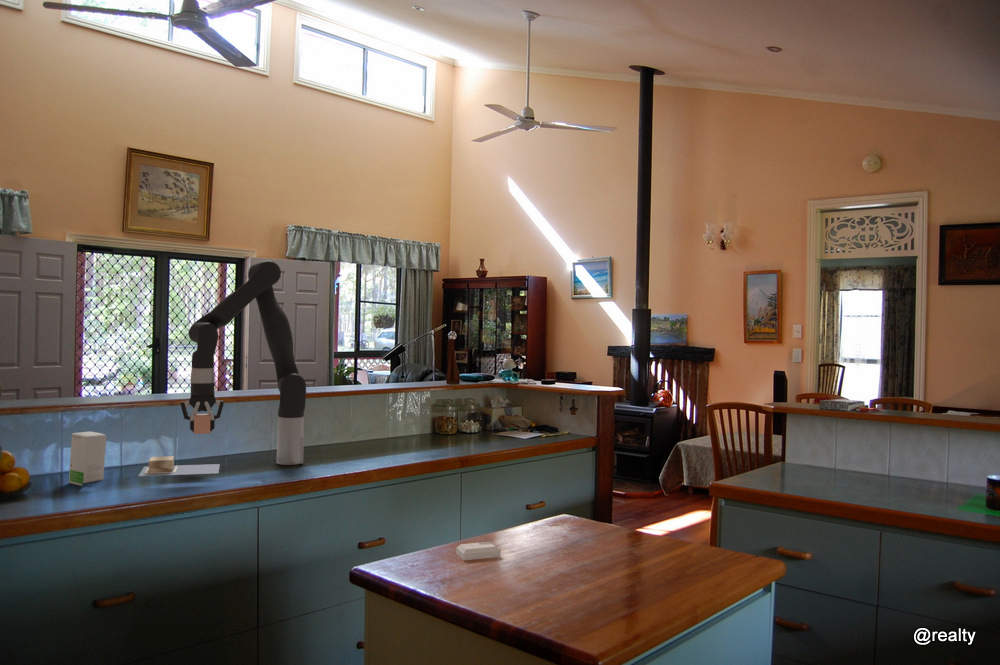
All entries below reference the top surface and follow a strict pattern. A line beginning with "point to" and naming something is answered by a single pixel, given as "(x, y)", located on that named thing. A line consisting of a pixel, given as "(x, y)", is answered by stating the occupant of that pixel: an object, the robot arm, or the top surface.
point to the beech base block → (161, 464)
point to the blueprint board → (185, 470)
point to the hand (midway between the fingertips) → (202, 431)
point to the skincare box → (87, 457)
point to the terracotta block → (202, 423)
